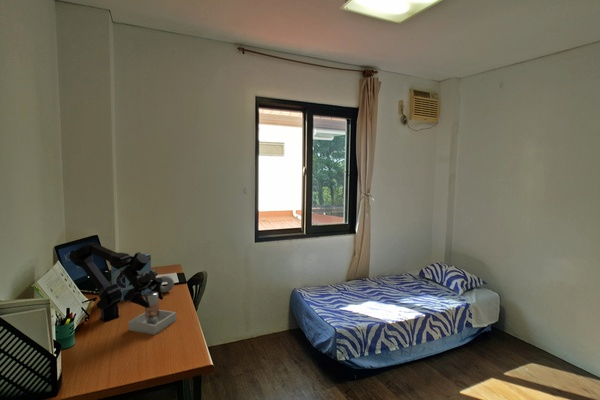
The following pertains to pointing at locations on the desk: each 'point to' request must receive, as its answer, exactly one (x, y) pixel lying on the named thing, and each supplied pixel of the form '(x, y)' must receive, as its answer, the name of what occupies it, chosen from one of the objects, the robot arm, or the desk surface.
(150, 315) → the tin
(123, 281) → the gum box
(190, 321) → the desk surface
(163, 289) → the donut
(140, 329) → the tray
